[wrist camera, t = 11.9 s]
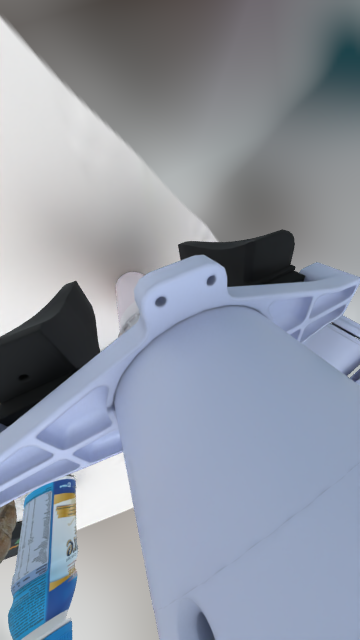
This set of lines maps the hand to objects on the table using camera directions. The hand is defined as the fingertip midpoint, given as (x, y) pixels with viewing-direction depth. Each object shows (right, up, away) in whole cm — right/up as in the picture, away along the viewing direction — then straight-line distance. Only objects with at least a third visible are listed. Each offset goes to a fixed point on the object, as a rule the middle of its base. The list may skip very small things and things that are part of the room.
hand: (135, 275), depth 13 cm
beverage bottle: (-22, -36, +24) cm, 49 cm away
